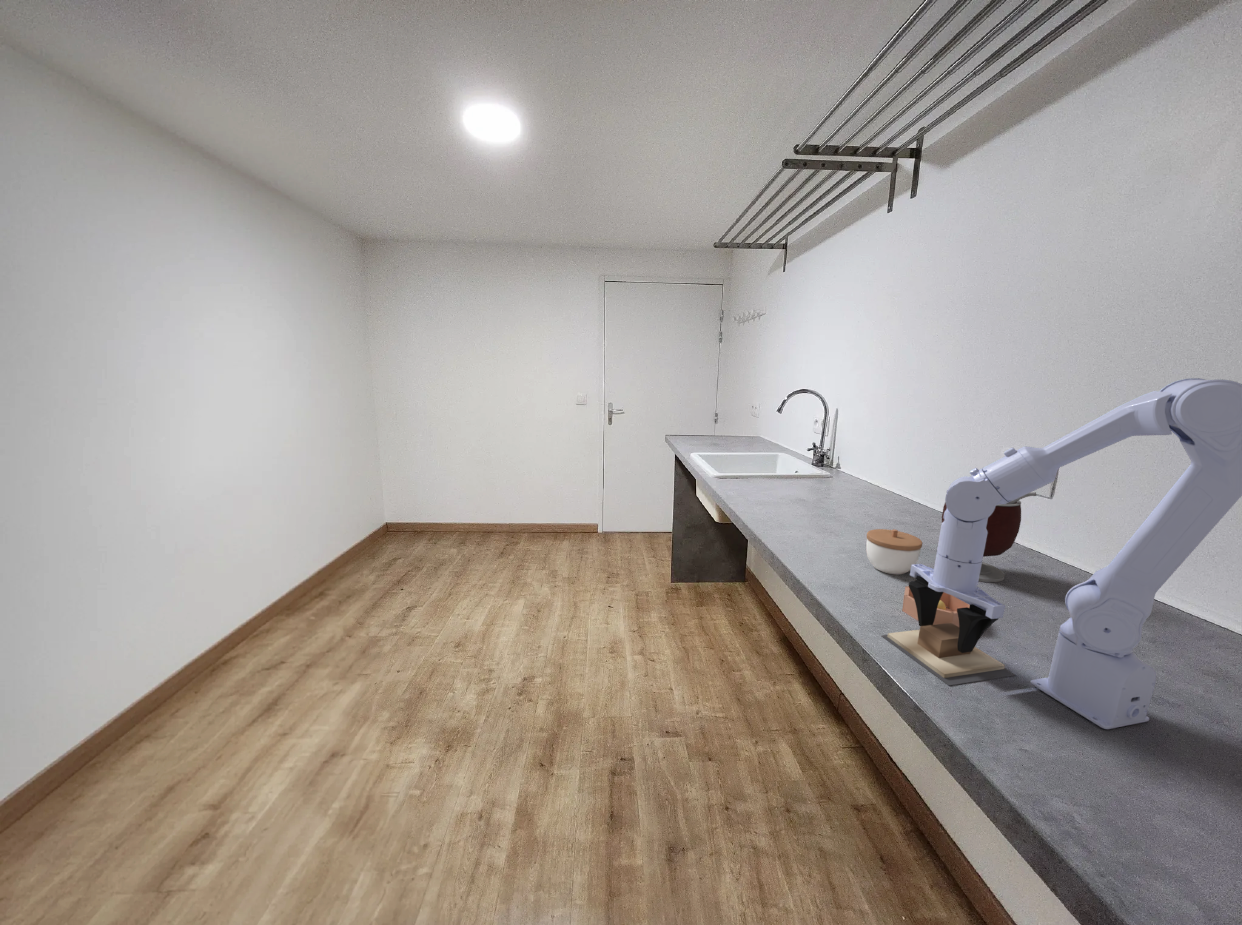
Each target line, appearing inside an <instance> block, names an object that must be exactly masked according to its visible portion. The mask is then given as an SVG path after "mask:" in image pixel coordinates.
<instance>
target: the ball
mask: <svg viewBox="0 0 1242 925" xmlns="http://www.w3.org/2000/svg"><path fill="white" fill-rule="evenodd" d="M937 608H938V609H942V610H946V606H945V604H944V602H942V601H941V600H940V601H939V604H938V607H937Z"/></svg>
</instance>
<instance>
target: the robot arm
mask: <svg viewBox="0 0 1242 925" xmlns="http://www.w3.org/2000/svg"><path fill="white" fill-rule="evenodd" d="M1172 434H1174V435H1175V436H1176V437H1177V438H1178V439H1179V442H1180V444H1181V445H1182V447H1183V449H1184V452H1185V453H1186V455H1187V456H1188V459H1189V460H1190V464H1189V466H1188V467H1187V468H1186V469H1185V470H1184V472H1182V474H1181V475H1180V477H1179V478H1178V479H1177V480H1176V481H1175V483H1174V484H1173V485H1172V487H1171V488H1170V489H1169V490H1168V491H1167V493H1166V494H1165V495H1164V496H1163V498H1162V499H1161V500H1160V501H1159V503H1158V504H1157V505H1156V506H1155V507H1154V508H1153V509H1152V511H1151V512H1150V514H1149V515H1148V516H1147V517H1146V519H1145V520H1144V521H1143V522H1142V523H1141V524H1140V526H1139V527H1138V528H1137V529H1136V530H1135V532H1134V533H1133V534H1132V536H1131V537H1129V539H1128V541H1127V542H1126V543H1125V544H1123V546H1122V548H1121V549H1120V550H1119V551H1118V552H1117V554H1116V555H1115V556H1114V558H1113V559H1112V560H1111V561H1110V562H1109V564H1108V565H1106V566H1105V567H1101V568H1100V569H1098V570H1095V572H1094V573H1093V574H1092V575H1091V576H1090V577H1089V578H1088V579H1087V580H1086V581H1083V582H1081V583H1078V584H1076V585H1074V586H1072V587H1071V588H1070V589H1069V590H1068V591H1067V593H1066V595H1065V597H1064V601H1065V602H1064V604H1065V607H1066V609H1067V611H1068V613H1069V615H1070V617H1069V618H1068V619H1067V620H1065V622H1063V623H1062V624H1060V626H1059V630H1058V635H1057V638H1056V643H1055V647H1054V651H1053V656H1052V660H1051V665H1050V669H1049V674H1048V677H1042V678H1035V679H1031V680H1030V684H1031V685H1034V686H1035V688H1036V689H1038V690H1040V691H1042V692H1043V693H1045V694H1046V695H1048V696H1050V697H1051V698H1053V699H1055V700H1056V701H1058V702H1059V703H1061V704H1063V705H1064V706H1065V707H1067V708H1070V709H1071V710H1072V711H1074V712H1076V713H1077V714H1078V715H1081V716H1082V717H1084V718H1085V719H1087V720H1089V721H1090V722H1092V723H1093V724H1094V725H1096V726H1098V727H1100V728H1102V729H1104V730H1110V729H1111V730H1112V729H1116V728H1119V727H1125V726H1130V725H1136V724H1141V723H1146V722H1149V720H1150V717H1149V716H1148V711H1149V708H1150V703H1151V701H1152V697H1153V694H1154V689H1155V688H1156V687H1155V686H1156V682H1157V673H1156V669H1155V668H1154V667H1153V666H1151V665H1150V664H1148V663H1146V662H1145V661H1143V660H1142V659H1140V658H1139V657H1138V656H1137V655H1136V654H1135V653H1134V652H1133V651H1134V648H1136V647H1137V646H1138V645H1139V644H1140V642H1141V640H1142V637H1143V626H1144V624H1145V622H1146V620H1147V619H1148V618H1149V617H1150V616H1151V614H1152V610H1153V606H1154V602H1155V596H1156V594H1157V592H1159V590H1160V589H1161V588H1162V587H1163V585H1164V584H1165V583H1166V582H1167V581H1168V580H1169V579H1170V578H1171V576H1173V574H1174V573H1175V572H1176V571H1177V569H1178V568H1179V567H1180V566H1181V565H1182V564H1183V563H1184V562H1185V561H1186V559H1188V557H1189V556H1190V555H1191V554H1192V553H1193V552H1194V550H1196V548H1197V547H1198V546H1199V545H1200V544H1201V543H1202V542H1203V540H1204V539H1205V538H1206V537H1207V536H1208V534H1209V533H1210V532H1211V531H1212V530H1213V529H1214V528H1215V527H1216V526H1217V524H1218V523H1219V522H1220V521H1221V520H1222V519H1223V518H1224V516H1226V514H1227V513H1228V512H1229V511H1230V509H1232V508H1233V507H1234V505H1235V504H1236V503H1237V502H1238V501H1239V500H1240V499H1241V497H1242V383H1241V382H1238V381H1235V380H1230V379H1221V378H1220V379H1218V378H1217V379H1216V378H1215V379H1204V378H1201V377H1200V378H1199V377H1194V378H1193V377H1190V378H1189V377H1188V378H1183V379H1182V378H1181V379H1178V380H1175V381H1172V382H1170V383H1168V384H1166V385H1165V386H1163V387H1162V388H1161V389H1160V390H1152V391H1150V392H1149V391H1148V392H1147V393H1144V394H1142V395H1140V396H1137V397H1136V398H1133V399H1131V400H1129V401H1127V402H1125V403H1122V404H1121V405H1118V406H1117V407H1115V408H1113V409H1111V410H1109V411H1108V412H1105V413H1104V414H1103V415H1102V414H1101V415H1099V417H1097V418H1095V419H1093V420H1091V421H1089V422H1088V423H1085V424H1084V425H1082V426H1080V427H1078V428H1077V429H1074V430H1072V431H1071V432H1068V434H1067V433H1066V434H1065V435H1063V436H1062V437H1060V438H1058V439H1056V440H1055V441H1053V442H1050V443H1049V444H1048V445H1045V446H1043V447H1034V446H1033V447H1032V446H1024V445H1023V446H1021V447H1020V448H1018V449H1016V448H1014V447H1010V448H1008V449H1006V450H1005V451H1003V455H1004V456H1003V457H1000V458H999V459H996V460H995V461H993V462H991V463H989V464H987V465H986V466H983V467H982V468H980V469H978V467H974V468H972V469H971V470H969V474H970V475H969V476H968V475H964V476H961V477H958V478H957V479H955V480H953V481H952V482H951V483H950V485H949V487H948V488H947V489H946V494H945V500H944V503H945V502H946V506H947V509H946V510H945V512H944V519H945V520H944V522H942V521H941V523H940V524H941V525H940V529H939V530H940V531H939V537H938V544H937V549H936V556H935V559H934V560H935V561H934V567H933V568H932V567H929V566H928V565H924V564H922V563H916V564H912V565H911V570H910V571H909V572H910V573H909V576H910V577H912V578H916V579H914V581H913V580H912V581H909V582H908V586H909V588H910V590H911V592H912V594H913V597H914V600H915V604H916V608H917V614H918V621H917V622H918V626H919V627H920V626H928V625H933V623H934V620H935V616H936V611H937V607H938V604H939V601H940V598H941V596H942V594H943V592H944V593H947V594H950V595H952V596H954V597H956V598H958V599H959V600H961V601H963V602H965V603H967V604H969V605H970V607H969V608H968V607H966V608H957V613H958V618H959V637H958V644H957V647H958V651H960V652H961V653H966V652H972V651H973V649H974V647H976V645H977V643H978V641H979V640H980V639H981V637H982V636H983V634H984V633H985V632H986V631H987V630H988V628H990V627H991V626H992V625H993V624H994V623H995V622H997V621H998V620H999V619H1003V618H1004V614H1005V608H1006V605H1005V604H1003V603H1002V602H999V601H998V600H996V598H994V597H992V596H991V595H990V594H989V593H987V592H986V591H985V590H983V589H981V588H980V587H979V586H978V585H979V582H980V581H979V575H980V570H981V565H982V562H983V560H984V557H983V554H984V549H985V544H986V538H987V533H988V532H987V529H986V526H987V521H988V517H989V516H990V515H991V514H992V513H993V511H994V509H995V506H996V505H998V504H1007V503H1009V502H1011V501H1013V500H1015V499H1017V498H1020V497H1022V496H1024V495H1026V494H1028V493H1032V492H1035V491H1037V490H1038V489H1041V488H1043V487H1045V486H1047V485H1049V484H1051V483H1053V482H1055V480H1056V476H1057V473H1058V471H1059V469H1060V468H1062V467H1064V466H1066V465H1069V464H1071V463H1073V462H1075V461H1077V460H1081V459H1082V458H1084V457H1087V456H1089V455H1091V454H1094V453H1096V452H1099V451H1100V450H1103V449H1106V448H1108V447H1109V446H1112V445H1114V444H1116V443H1119V442H1121V441H1124V440H1126V439H1129V438H1131V437H1137V436H1138V437H1139V436H1140V437H1141V436H1170V435H1172Z"/></svg>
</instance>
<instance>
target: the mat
mask: <svg viewBox="0 0 1242 925" xmlns="http://www.w3.org/2000/svg"><path fill="white" fill-rule="evenodd" d="M887 635H888V634H884V635H881V637H882V638H883V639H885V640H886V641H887V642H888V643H890V644H891V645H893V646H894V647H895V648H896V649H898V650H899V651H900V652H902V653H903V654H905V656H907V657H908V658H910V659H911V660H913V661H914V662H916V663H917V664H918V665H919V666H921V667H922V668H924V669H925V670H927V672H929V673H930V674H932V675H933V676H934V677H935V678H937V679H938V680H940V682H942V683H944V684H945V685H947V686H948V687H952V686H958V685H965V684H971V683H978V682H984V681H990V680H998V679H1004V678H1011V677H1016V676H1017V674H1016V673H1013V672H1012V671H1010V670H1009V669H1007V668H1006V667H1005V668H1004V669H1001V670H994V671H987V672H981V673H974V674H967V675H960V676H954V677H947V678H943V677H942V676H941V675H939V674H938V673H936V672H935V671H934V670H932V669H931V668H930V667H928V666H927V665H926V664H924V663H923V662H921V661H920V660H919V659H917V658H916V657H915V656H913V655H912V654H910V653H909V652H908V651H906V650H905V649H904V648H902V647H901V646H899V645H898V644H897V643H895V642H894V641H893V640H891V639H890V638H888V637H887Z"/></svg>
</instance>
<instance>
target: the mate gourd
mask: <svg viewBox="0 0 1242 925" xmlns="http://www.w3.org/2000/svg"><path fill="white" fill-rule="evenodd" d="M1029 497H1037V492H1035V491H1032V492H1030V493H1028V494H1026V495H1024V496H1022V497H1020V498H1017V499H1015V500H1013V501H1011V502H1009V503H1007V504H998V505H996V506H995V509H994V511H993V513H992V514H991V515H990V516H989V517H988V521H987V526H986V529H987V532H988V533H987V538H986V544H985V549H984V554H983V558H984V557H995V556H1000V555H1003V554H1004V553H1005V552H1006V551H1008V550H1010V549H1011V548H1012V547H1013V545H1014V543H1015V542H1016V539H1017V537H1018V534H1019V532H1020V528H1021V523H1022V505H1021V504H1022V501H1020V500H1022V499H1024V498H1025V499H1026V498H1029ZM946 509H947V506H946V502H945V501H944V504H943V506H942V513H941V523H942V522H944V520H945V519H944V512H945V510H946ZM1005 576H1006V574H1005V573H1004V571H1003V570H1001V569H1000V568H999V567H996V566H994V565H992V564H989V563H987V562H984V561H982V565H981V570H980V575H979V581H978V582H983V583H999V582H1003V581H1005V580H1004V579H1005Z"/></svg>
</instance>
